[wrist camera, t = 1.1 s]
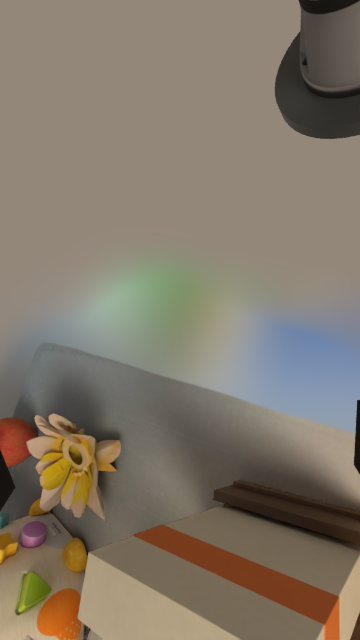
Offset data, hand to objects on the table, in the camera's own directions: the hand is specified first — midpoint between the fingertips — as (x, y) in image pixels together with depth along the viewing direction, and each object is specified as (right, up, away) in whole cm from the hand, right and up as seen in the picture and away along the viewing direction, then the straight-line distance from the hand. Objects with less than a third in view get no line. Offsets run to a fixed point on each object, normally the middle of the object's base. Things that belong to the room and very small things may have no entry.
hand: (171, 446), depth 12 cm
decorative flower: (-12, -15, +34) cm, 39 cm away
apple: (-24, -16, +42) cm, 51 cm away
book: (+10, -14, +16) cm, 23 cm away
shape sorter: (-17, -28, +33) cm, 46 cm away
